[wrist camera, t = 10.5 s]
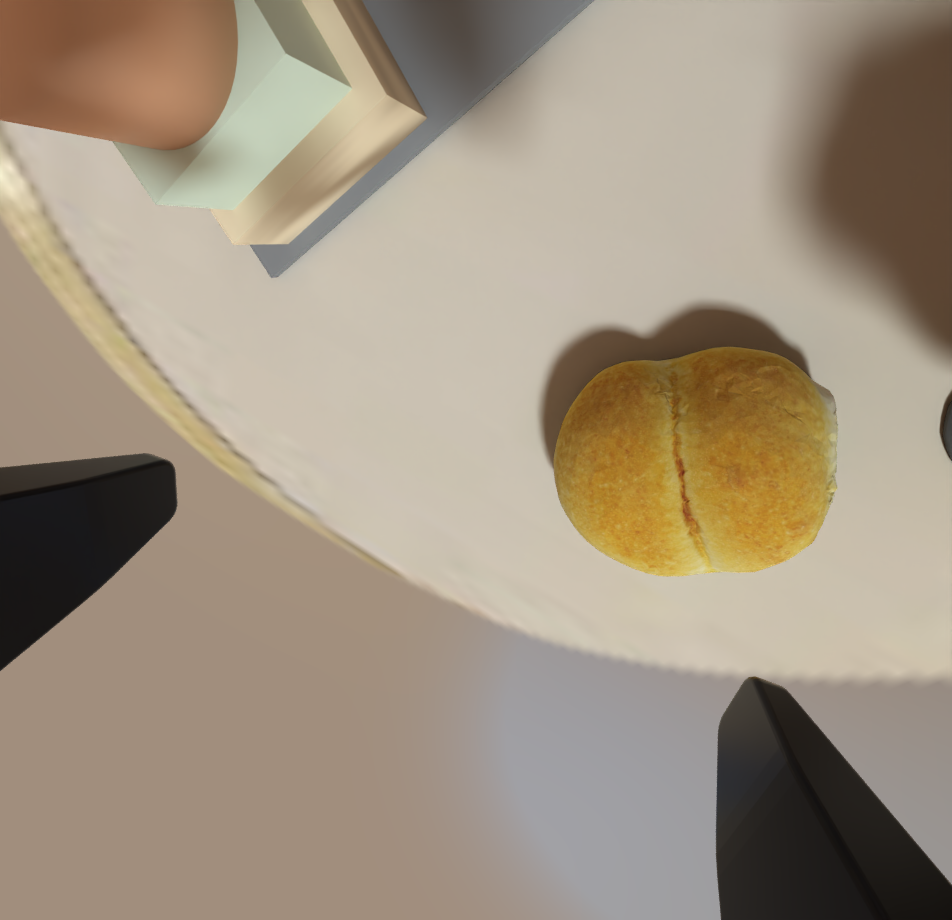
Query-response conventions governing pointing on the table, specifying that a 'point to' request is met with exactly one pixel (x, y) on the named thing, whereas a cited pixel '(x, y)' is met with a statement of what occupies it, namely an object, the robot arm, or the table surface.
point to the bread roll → (699, 462)
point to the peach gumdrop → (118, 67)
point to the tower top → (250, 111)
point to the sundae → (948, 430)
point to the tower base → (332, 133)
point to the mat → (437, 80)
